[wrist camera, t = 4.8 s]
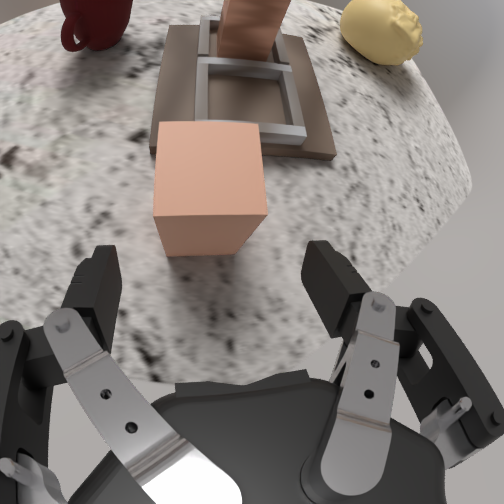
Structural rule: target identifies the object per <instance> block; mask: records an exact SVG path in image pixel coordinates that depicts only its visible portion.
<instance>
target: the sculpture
mask: <svg viewBox="0 0 504 504" xmlns="http://www.w3.org/2000/svg"><path fill="white" fill-rule="evenodd" d="M418 20H419V17H418V16H417V15H415V13H414V12H411V11H410V10H409V8H408V7H406V5H404V4H403V3H402V1H401V0H352V1H351V2H350V3H349V4H348V5H347V6H346V8H345V9H344V11H343V13H342V16H341V20H340V29H341V33H342V35H343V37H344V38H345V40H346V41H347V42H348V43H349V44H350V45H351V46H352V47H353V48H354V49H356V50H357V51H358V52H359V53H360V54H362V55H363V56H364V57H366V58H367V59H369V60H370V61H372V62H374V63H377V64H380V65H394V66H397V65H400V64H402V63H404V61H406V60H411V58H412V57H413V56H414V55H416V54H417V53H418V52H419V47H421V46H422V45H423V42H422V41H423V38H422V36H421V34H422V26H421V24H420V23H419V21H418Z"/></svg>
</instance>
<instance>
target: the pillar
mask: <svg viewBox="0 0 504 504" xmlns="http://www.w3.org/2000/svg"><path fill="white" fill-rule="evenodd" d="M267 215H268V211H267V201H266V191H265V182H264V172H263V163H262V153H261V144H260V135H259V126H258V124H254V123H238V122H212V121H167V122H159V130H158V141H157V152H156V166H155V182H154V206H153V217H154V220H155V223H156V227H157V230H158V233H159V236H160V239H161V242H162V245H163V247H164V250H165V253H166V256H167V257H171V256H202V255H232V254H235V253H236V252H237V251H238V250H239V249H240V247H241V246H242V245H243V244H244V243H245V241H246V240H247V239H248V238H249V237H250V235H251V234H252V233H253V232H254V231H255V229H256V228H257V227H258V226H259V225H260V223H261V222H262V221H263V220H264V219H265V217H266V216H267Z"/></svg>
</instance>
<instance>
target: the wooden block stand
mask: <svg viewBox="0 0 504 504" xmlns="http://www.w3.org/2000/svg"><path fill="white" fill-rule="evenodd" d="M290 2H291V0H224V3H223V7H222V12H221V17H220V16H201V20H200V25H169V30H168V34H167V38H166V43H165V47H164V52H163V57H162V62H161V67H160V73H159V78H158V84H157V90H156V97H155V103H154V110H153V118H152V126H151V134H150V144H149V148H150V154H156V152H157V141H158V130H159V122H167V121H212V122H238V123H254V124H258V126H259V135H260V144H261V153H262V155H271V156H286V157H298V158H309V159H319V160H329V161H331V160H332V159H333V158H334V157H335V156H336V155H337V153H336V149H335V145H334V141H333V136H332V132H331V129H330V125H329V121H328V117H327V113H326V110H325V106H324V103H323V99H322V96H321V92H320V89H319V86H318V82H317V79H316V76H315V73H314V70H313V67H312V64H311V61H310V58H309V55H308V52H307V49H306V46H305V43H304V41H303V38H302V37H297V36H292V35H287V34H282V33H281V29H280V26H281V23H282V21H283V18H284V16H285V14H286V11H287V9H288V6H289V4H290Z"/></svg>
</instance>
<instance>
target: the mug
mask: <svg viewBox="0 0 504 504" xmlns="http://www.w3.org/2000/svg"><path fill="white" fill-rule="evenodd" d="M132 3H133V0H60V5H61V8H62V11H63V13H64V15H65V17H66V19H65V21H64V23H63V26H62V30H61V42H62V45H63V47H64V48H65V50H67V51H70V52H76V51H80V50H82V49H84V48H85V47H86V46H87V47H88V48H89V49H91V50H95V51H99V50H104V49H107V48H110V47H112V46H114V45H115V44H116V43H117V42H118V41H119V40H120V39H121V37H122V35H123V33H124V31H125V29H126V27H127V25H128V23H129V19H130V14H131V8H132ZM74 35H75V36H76V38H77V39H78V40H79V41H80V42H79V43H78V44H76V43H75V41H74Z"/></svg>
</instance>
